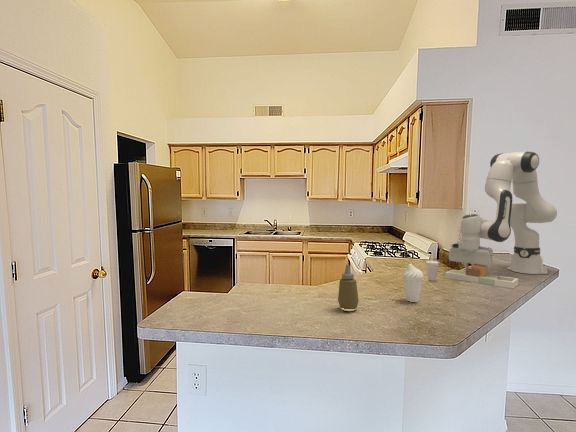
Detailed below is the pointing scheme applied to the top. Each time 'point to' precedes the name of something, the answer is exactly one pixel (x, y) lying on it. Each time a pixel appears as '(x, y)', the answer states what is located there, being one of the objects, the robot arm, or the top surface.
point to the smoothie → (432, 269)
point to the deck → (482, 278)
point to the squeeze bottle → (348, 290)
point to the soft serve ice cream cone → (412, 283)
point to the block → (481, 269)
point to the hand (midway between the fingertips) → (469, 271)
